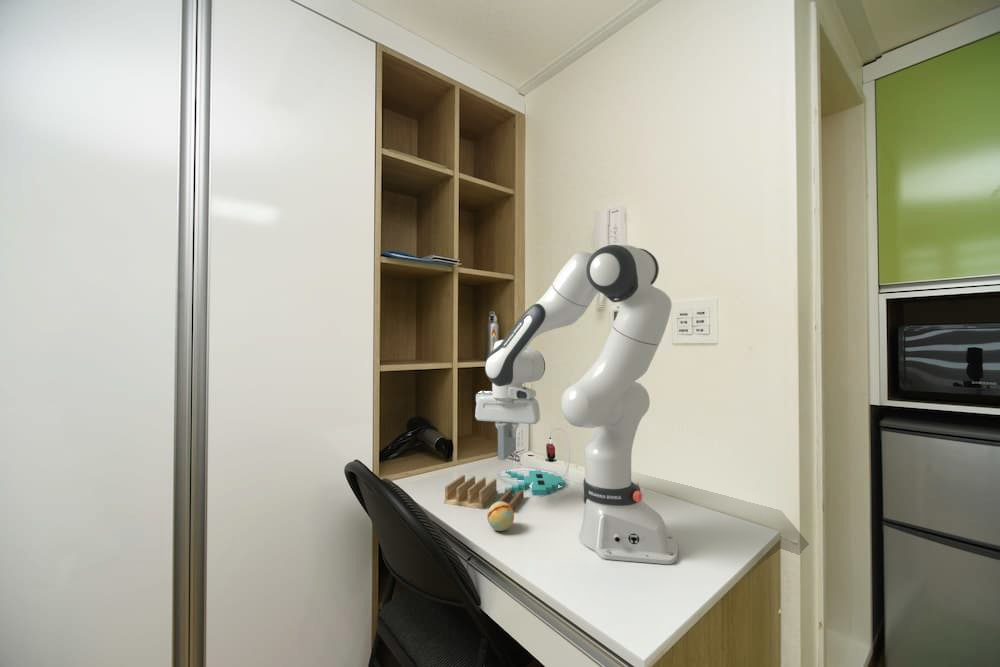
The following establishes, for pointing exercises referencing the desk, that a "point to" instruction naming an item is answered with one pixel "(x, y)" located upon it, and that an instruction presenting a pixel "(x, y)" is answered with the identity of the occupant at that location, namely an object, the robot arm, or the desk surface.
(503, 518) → the ball
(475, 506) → the rack
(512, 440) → the plate
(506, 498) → the stand
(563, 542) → the desk surface
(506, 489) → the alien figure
